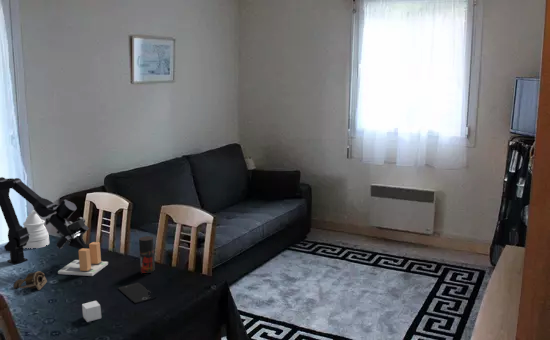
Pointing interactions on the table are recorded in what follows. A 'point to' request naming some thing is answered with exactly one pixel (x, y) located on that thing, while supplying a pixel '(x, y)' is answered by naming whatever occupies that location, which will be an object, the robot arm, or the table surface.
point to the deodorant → (146, 254)
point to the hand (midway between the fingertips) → (86, 250)
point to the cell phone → (135, 292)
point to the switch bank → (75, 269)
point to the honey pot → (36, 231)
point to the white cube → (91, 311)
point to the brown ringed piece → (32, 281)
